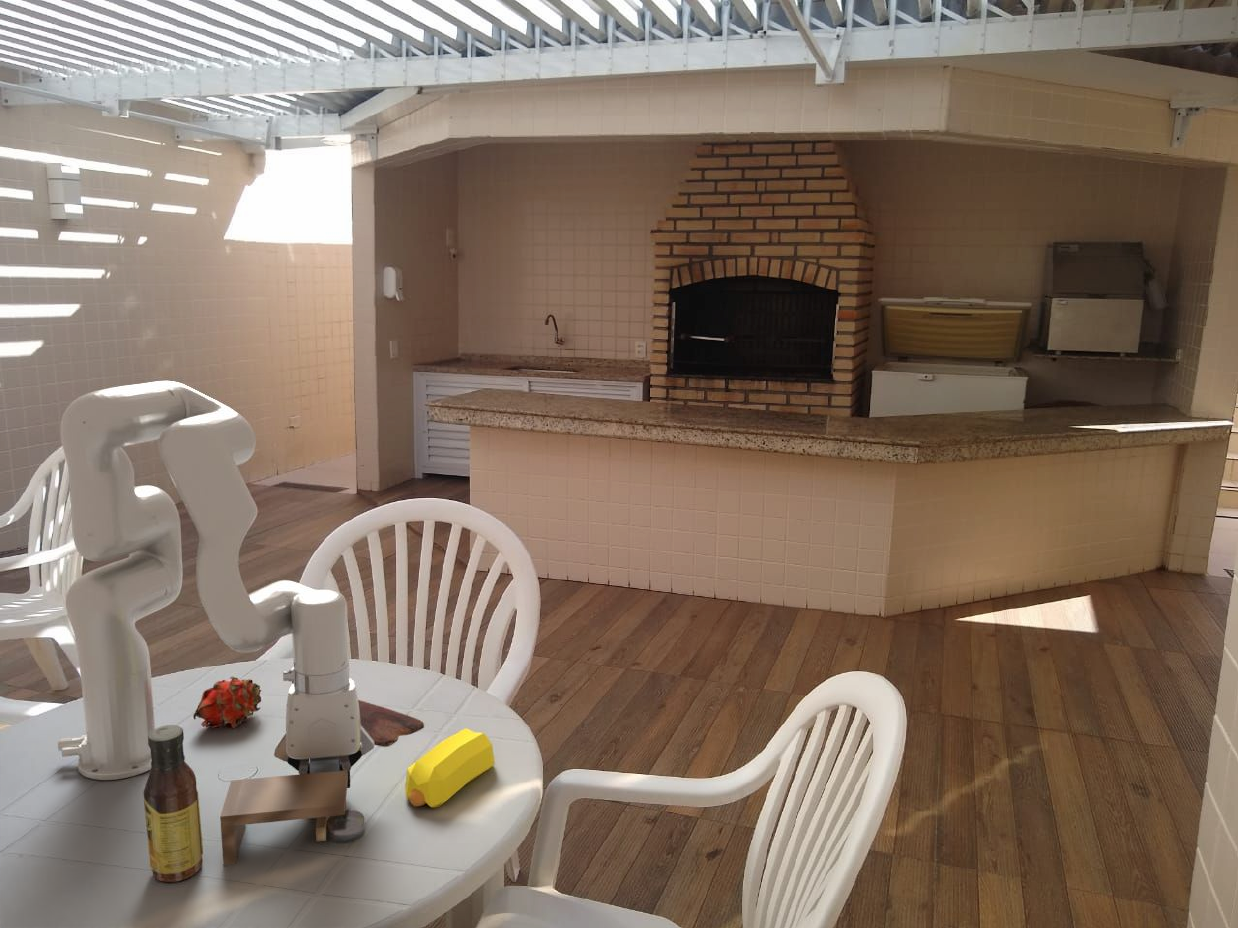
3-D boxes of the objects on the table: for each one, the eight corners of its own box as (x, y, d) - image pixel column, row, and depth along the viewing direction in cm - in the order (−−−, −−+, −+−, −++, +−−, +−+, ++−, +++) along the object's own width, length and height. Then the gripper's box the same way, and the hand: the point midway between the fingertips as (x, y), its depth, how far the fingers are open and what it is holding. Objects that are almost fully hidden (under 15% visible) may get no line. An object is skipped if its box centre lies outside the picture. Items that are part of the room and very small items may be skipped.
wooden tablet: (277, 701, 171) (321, 675, 179) (278, 712, 172) (322, 686, 180) (384, 744, 157) (427, 714, 165) (386, 756, 158) (428, 725, 166)
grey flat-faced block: (305, 842, 131) (303, 795, 129) (313, 791, 143) (311, 748, 142) (336, 839, 131) (334, 792, 130) (341, 788, 144) (340, 745, 142)
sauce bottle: (162, 856, 128) (150, 718, 124) (210, 855, 129) (201, 717, 124) (142, 887, 122) (129, 742, 118) (193, 886, 122) (182, 742, 118)
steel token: (325, 844, 131) (324, 831, 131) (329, 824, 136) (328, 811, 136) (363, 841, 132) (362, 828, 132) (365, 821, 137) (365, 808, 137)
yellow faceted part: (505, 764, 154) (466, 752, 157) (505, 725, 152) (466, 714, 156) (433, 820, 138) (392, 805, 142) (433, 777, 137) (391, 763, 140)
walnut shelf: (223, 864, 127) (220, 816, 125) (234, 826, 135) (231, 780, 134) (346, 851, 130) (344, 804, 129) (349, 814, 139) (347, 770, 137)
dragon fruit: (269, 720, 169) (202, 753, 161) (245, 683, 172) (179, 713, 164) (276, 695, 164) (207, 728, 156) (251, 657, 167) (182, 687, 159)
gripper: (256, 692, 132) (262, 813, 136) (382, 683, 136) (385, 801, 140) (263, 670, 139) (269, 785, 143) (382, 662, 143) (385, 775, 147)
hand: (326, 792), depth 141 cm, fingers closed on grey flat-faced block, 4 cm apart
